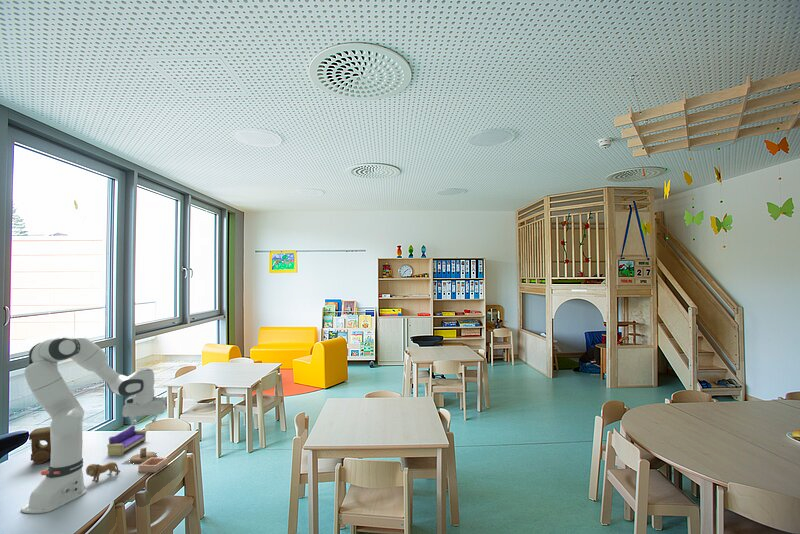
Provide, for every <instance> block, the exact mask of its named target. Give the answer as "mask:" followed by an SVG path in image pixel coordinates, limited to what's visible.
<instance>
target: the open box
mask: <svg viewBox="0 0 800 534" xmlns="http://www.w3.org/2000/svg"><path fill="white" fill-rule="evenodd" d="M168 461H169V459H168V457H158V458H154V457H151V458H149V459H148V460H146V461H145V462H143V463H142V464H140V465H137V467H138V470H137V471H138V473H150V474H151V473H153V474H154V473H155V474H156V473H157V472H159V471H160V470H161V469H163V468H164V467H166V466H168ZM159 469H160V470H159ZM158 470H159V471H158Z"/></svg>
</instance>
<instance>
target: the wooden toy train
mask: <svg viewBox="0 0 800 534" xmlns="http://www.w3.org/2000/svg"><path fill="white" fill-rule="evenodd" d="M28 439H29V441H30V442H31V444H30V445H31V454H30V461H32V462H33V463H35V464H37V465H42V464H45V463H47V462H48V461H49V459H51V439H50V426H46V427H45V426H43V427H39V428H34V429H33V430H32V431H31V432H30V433H29V434H28ZM41 441H45V442H46V444H42V442H41Z"/></svg>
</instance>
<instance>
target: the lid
mask: <svg viewBox="0 0 800 534" xmlns="http://www.w3.org/2000/svg"><path fill="white" fill-rule="evenodd" d="M139 453H140V454H138V453H136V454H134V455H132V456H131V457H130V458H129V459H130V463H134V464H138V463H143V462H145V461H146V460H148V459H149V458H151V457H154V458H155V457H156V453H157V452H155V451H147V447H146V446H144V447H141V448H140V451H139Z"/></svg>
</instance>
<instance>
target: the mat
mask: <svg viewBox="0 0 800 534" xmlns="http://www.w3.org/2000/svg"><path fill="white" fill-rule="evenodd" d="M155 453H156V454H157V453H158V452H155ZM157 457H158V456H157V455H156V457H155V458H157ZM158 458H159V457H158ZM129 461H130V460H129V459H126V461H124V462H122V463H121V465H130V464H133V463H130V462H129ZM140 464H142V463H138V464H133V466H135V465H137V466H139V465H140Z"/></svg>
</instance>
